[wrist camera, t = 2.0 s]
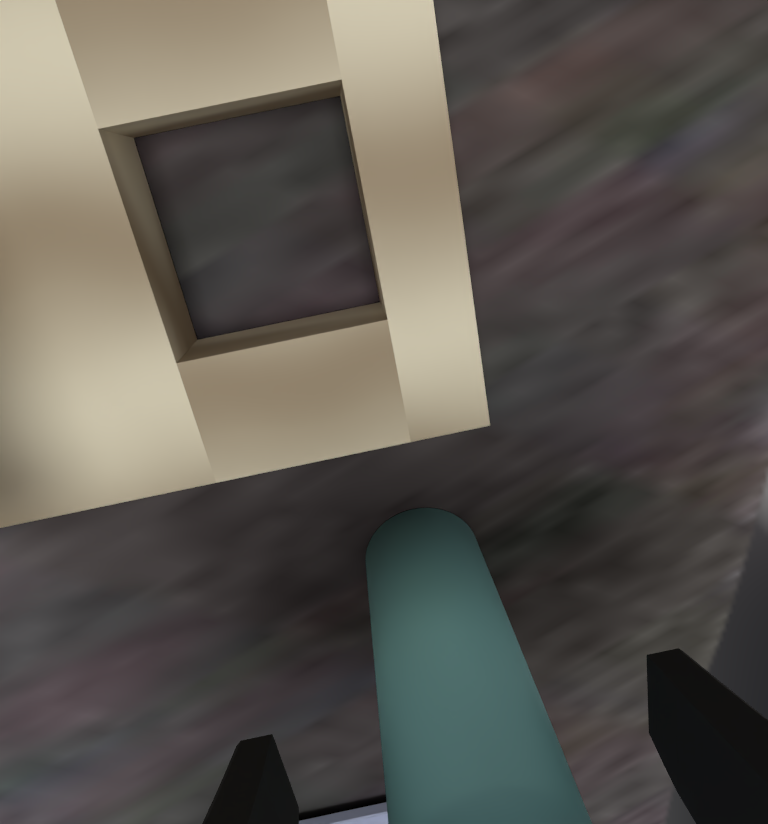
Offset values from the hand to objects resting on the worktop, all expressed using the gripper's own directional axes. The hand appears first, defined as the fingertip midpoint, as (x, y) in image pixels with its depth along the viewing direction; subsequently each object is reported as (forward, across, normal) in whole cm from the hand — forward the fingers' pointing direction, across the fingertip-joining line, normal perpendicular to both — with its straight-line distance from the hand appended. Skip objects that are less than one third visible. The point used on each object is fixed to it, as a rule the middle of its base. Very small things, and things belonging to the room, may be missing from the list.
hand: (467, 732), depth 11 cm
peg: (+6, 0, 0) cm, 6 cm away
